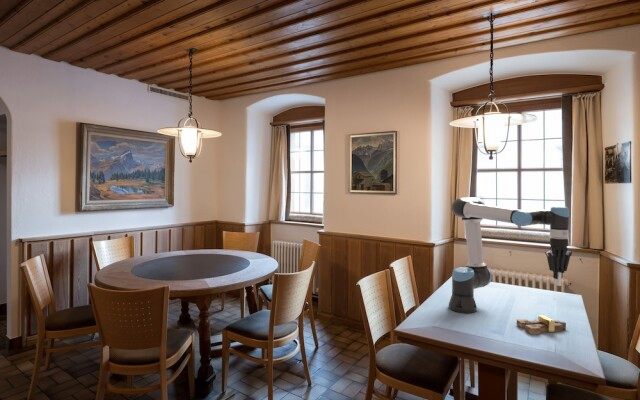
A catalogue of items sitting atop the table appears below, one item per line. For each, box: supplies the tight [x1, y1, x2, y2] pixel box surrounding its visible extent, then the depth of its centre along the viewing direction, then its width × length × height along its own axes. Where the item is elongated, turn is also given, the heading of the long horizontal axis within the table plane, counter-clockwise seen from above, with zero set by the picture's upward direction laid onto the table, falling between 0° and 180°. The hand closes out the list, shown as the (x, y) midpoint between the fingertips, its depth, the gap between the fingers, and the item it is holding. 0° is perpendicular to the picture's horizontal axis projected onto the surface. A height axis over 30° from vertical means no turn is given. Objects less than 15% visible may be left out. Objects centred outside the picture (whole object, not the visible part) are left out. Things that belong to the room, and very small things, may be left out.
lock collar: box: [537, 314, 556, 333], centre depth 176 cm, size 7×3×5 cm, turn 7°
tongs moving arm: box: [516, 319, 567, 330], centre depth 180 cm, size 6×22×3 cm, turn 91°
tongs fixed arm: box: [524, 323, 564, 335], centre depth 174 cm, size 4×18×3 cm, turn 97°
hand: (557, 285), depth 176 cm, fingers closed
